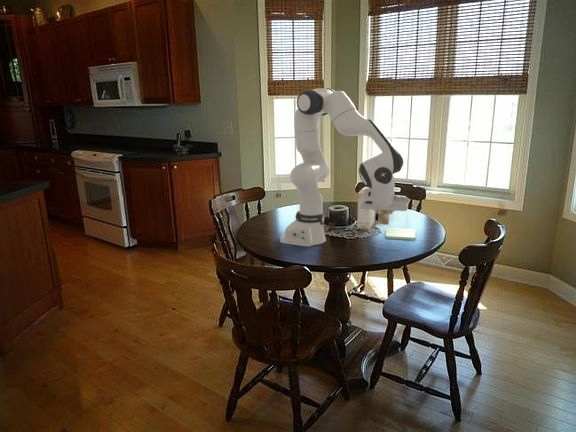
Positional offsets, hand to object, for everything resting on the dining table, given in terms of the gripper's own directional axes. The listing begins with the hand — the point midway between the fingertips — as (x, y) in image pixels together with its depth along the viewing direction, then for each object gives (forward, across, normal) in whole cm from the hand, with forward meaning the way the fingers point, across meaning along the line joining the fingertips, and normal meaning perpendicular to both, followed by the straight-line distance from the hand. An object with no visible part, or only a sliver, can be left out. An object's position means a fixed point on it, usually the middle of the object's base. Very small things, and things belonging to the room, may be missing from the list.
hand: (383, 212), depth 189 cm
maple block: (+3, 0, +4) cm, 5 cm away
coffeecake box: (+37, +10, -12) cm, 40 cm away
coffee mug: (+46, +6, -21) cm, 51 cm away
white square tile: (+27, -8, -3) cm, 28 cm away
